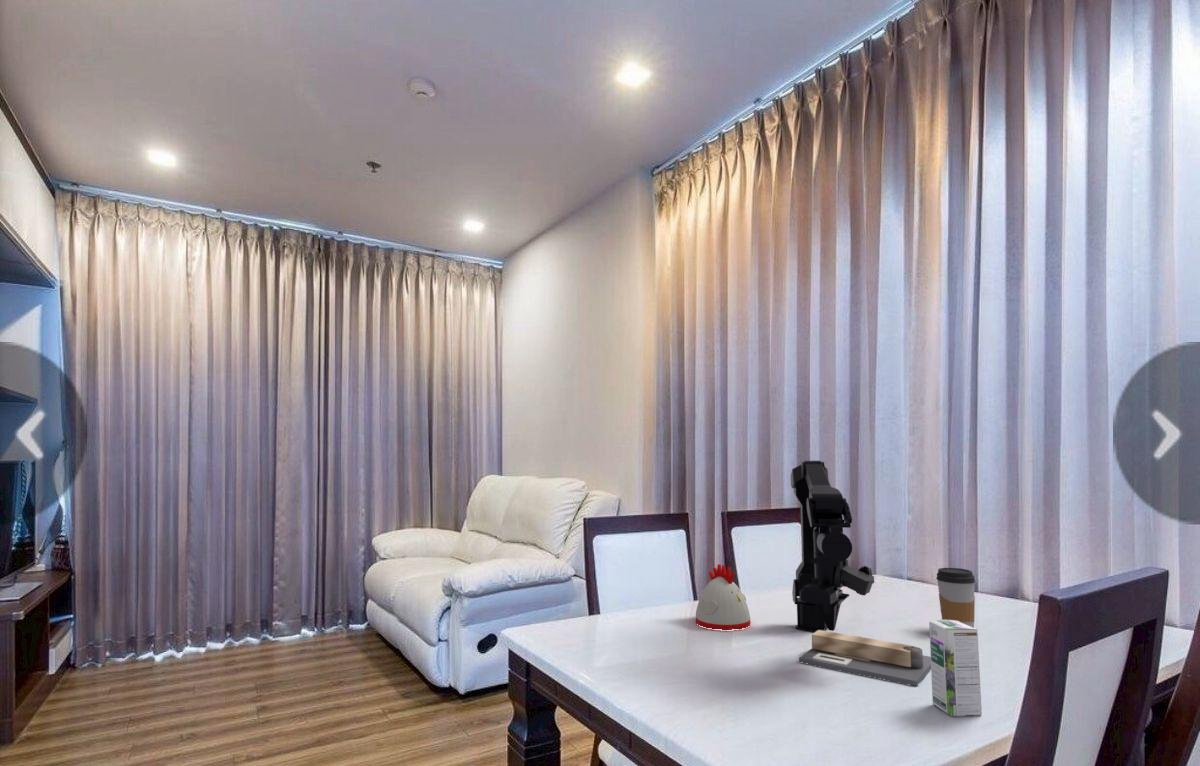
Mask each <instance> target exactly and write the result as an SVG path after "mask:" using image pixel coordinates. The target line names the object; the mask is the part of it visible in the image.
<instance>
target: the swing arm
mask: <svg viewBox="0 0 1200 766" xmlns="http://www.w3.org/2000/svg"><path fill="white" fill-rule="evenodd" d="M811 649H817V650H822V651H827V652H833V653H838V654H843V655H848V656H854V657H859V658H864V659H870V660H875V661H880V662H886V663H891V664H896V665H901V666H907V667H913V668H921V667H923V655H924V653H923V649H922V648H920V647H918V646H915V645H909V644H904V643H899V642H893V641H892V642H891V641H887V640H879V639H874V638H868V637H863V636H857V635H852V634H846V633H845V634H844V633H839V632H834V631H829V630H824V631H822V630H818V631H816V632H813V633H811Z"/></svg>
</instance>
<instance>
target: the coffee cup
mask: <svg viewBox="0 0 1200 766" xmlns="http://www.w3.org/2000/svg"><path fill="white" fill-rule="evenodd" d="M936 580H937V587H938V599H939V607H940V613H941V620H955V621H959V622H961V623H963V624H965V625H968V626H970V627H972V628H975V613H976V612H975V609H976V608H975V605H976V604H975V603H976V601H975V599H976V598H975V583H976V580H975V575H974V573H973V571H972V570H969V569H966V568H965V569H964V568H958V567H957V568H956V567H941V568H938V569H937V573H936Z"/></svg>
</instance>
